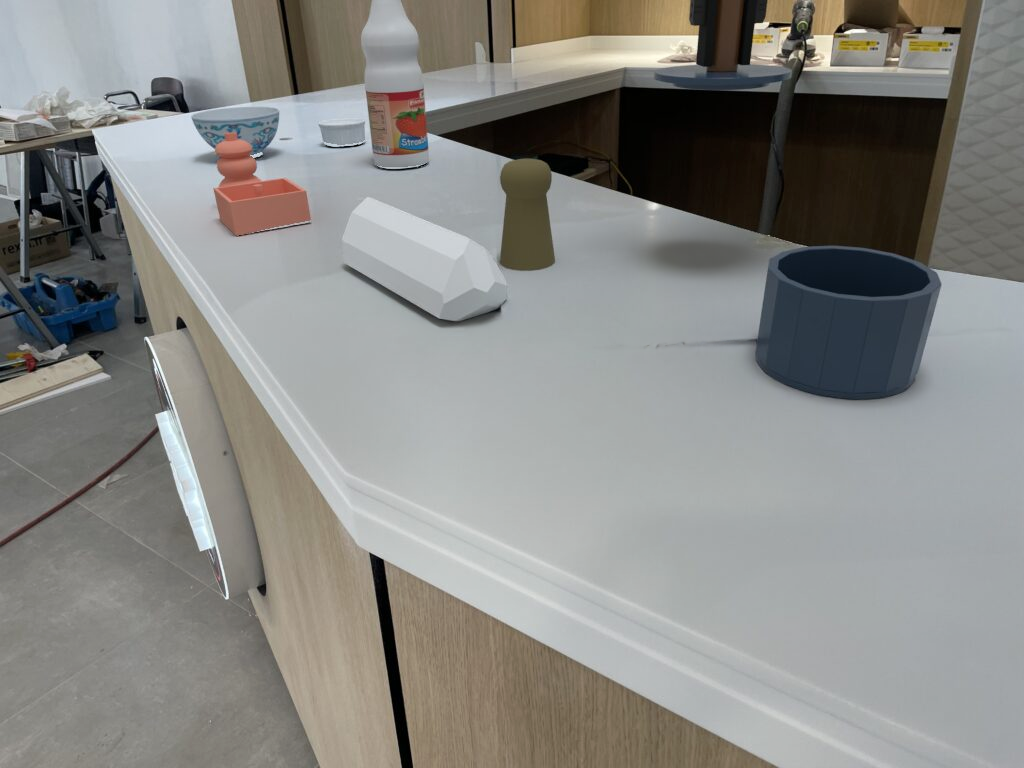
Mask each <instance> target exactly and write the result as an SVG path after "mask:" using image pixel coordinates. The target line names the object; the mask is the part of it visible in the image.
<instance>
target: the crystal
mask: <svg viewBox="0 0 1024 768" xmlns="http://www.w3.org/2000/svg"><path fill="white" fill-rule="evenodd" d="M341 249H342V256H343V257H342V258H343V259H342V260H343V263H344V264H345V265H347V266H348V267H351V268H352V269H354V270H356V271H357V272H359V273H361V274H363V275H364V276H366V277H367V278H369V279H371V280H373V281H374V282H376V283H377V284H379V285H381V286H383V287H385V288H386V289H388V290H389V291H391V292H393V293H394V294H396V295H398V296H400V297H402V298H403V299H405V300H407V301H408V302H410V303H412V304H413V305H415V306H417V307H419V308H420V309H422V310H423V311H425V312H427V313H429V314H431V315H432V316H434V317H436V318H437V319H440V320H441V319H442V320H445V321H453V322H461V321H464V320H468V319H472V318H475V317H477V316H481V315H484V314H488V313H491V312H493V311H496V310H497V309H499V308H500V307H501V306H502V304H504V302H505V301H506V300H507V299H508V287H509V285H508V283H507V281H506V278H505V276H504V274H503V273H502V271H501V270H500V268H499V266H498V264H497V262H496V261H495V259H494V258H493V256H492V255H491V253H490V252H489V250H487V249H486V248H485V247H483V245H481V244H479V243H478V242H476V241H475V240H473V239H472V238H470V237H467V236H465V235H463V234H460V233H458V232H455V231H453V230H450V229H448V228H445V227H444V226H440V225H438V224H435V223H434V222H431V221H428V220H425V219H423V218H422V217H420V216H419V217H418V216H417V215H414V214H412V213H408V212H406V211H404V210H401V209H399V208H398V207H397V208H396V207H395V206H392V205H390V204H387V203H385V202H382V201H380V200H377V199H375V198H372V197H371V196H367V197H365V198H364V200H363V201H361V203H360V204H358V205H357V206H356V207H355V208H354V209H353V210H352V211H351V213H350V216H349V218H348V221H347V225H346V227H345V229H344V232H343V235H342V238H341Z"/></svg>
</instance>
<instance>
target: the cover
mask: <svg viewBox="0 0 1024 768" xmlns="http://www.w3.org/2000/svg"><path fill="white" fill-rule="evenodd" d="M744 4H745V0H718V5H717V16H716V27H715V38H714V49H713V60H712V67H703V66H700V65H697V64H688V65H687V64H686V65H676V66H668V67H663V68H659V69H656V70H655V71H654V72H653V78H654V80H655V81H658V82H662V83H666V84H667V83H668V84H672V86H674V87H676V88H681V89H686V90H687V89H688V90H700V91H738V90H740V91H741V90H752V89H760V88H765V87H768V86H770V85H771V84H772V83H773V84H774V83H780V82H784V81H787V80H790V79H791V78H792V76H793V70H792V69H791V68H789V67H784V66H780V65H779V66H778V65H770V64H753V63H752V64H751V63H750V65H739V64H738V60H739V51H740V42H741V32H742V23H743V13H744Z"/></svg>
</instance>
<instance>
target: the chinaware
mask: <svg viewBox="0 0 1024 768" xmlns="http://www.w3.org/2000/svg"><path fill="white" fill-rule="evenodd" d="M190 119H191V121H192V124H193V125H194V127H195V129H196V130H197V133H198V134H199V136H200V137H201V138H202V139H203V140H204V142H206V143H207V145H209V146H210V147H211V148H212V149H214V150H215V147H216V146H217V145H218V144H219V143H220V142H223V141H226V139H225V135H224V133H228V132H237V137H238V140H244V141H246V142H248V143H249V144H251V146H252V151H251V153H250V154H248V155H254V154H257V153H260V152H262V151H263V152H264V150H266V148H268V146H269V145H271V143H272V142H273V140H274V138H275V137H276V134H277V132H278V129H279V125H280V124H279V123H280V109H279V108H277V107H271V106H235V107H226V108H225V107H224V108H216V109H210V110H209V109H208V110H204V111H199V112H196V113H193V114H191V116H190Z"/></svg>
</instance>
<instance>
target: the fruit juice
mask: <svg viewBox="0 0 1024 768" xmlns="http://www.w3.org/2000/svg"><path fill="white" fill-rule="evenodd" d="M370 2H371V3H370V9H369V13H368V14H369V15H368V19H367V21H366V23H365V25H364V27H363V28H362V31H361V35H360V44H361V49H362V52H363V55H364V58H365V62H366V65H365V69H364V90H365V96H366V106H367V115H368V125H369V133H370V140H371V149H372V158H373V163H374V165H375V164H376V165H378V166H382V167H408V166H416V165H421V164H424V163H426V162H428V163H429V162H430V161H429V160H430V152H429V140H428V139H429V138H428V127H427V126H428V125H427V113H426V101H425V100H426V99H425V87H424V77H423V71H422V68H421V66H420V64H419V61H418V55H419V52H420V51H419V50H420V40H419V39H420V38H419V33H418V32H417V29H416V27H415V26H414V25H413V24H412V22H411V21H410V19H409V18H408V16H407V13H406V10H405V8H404V5H403V2H402V0H371V1H370ZM376 165H375V166H376Z"/></svg>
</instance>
